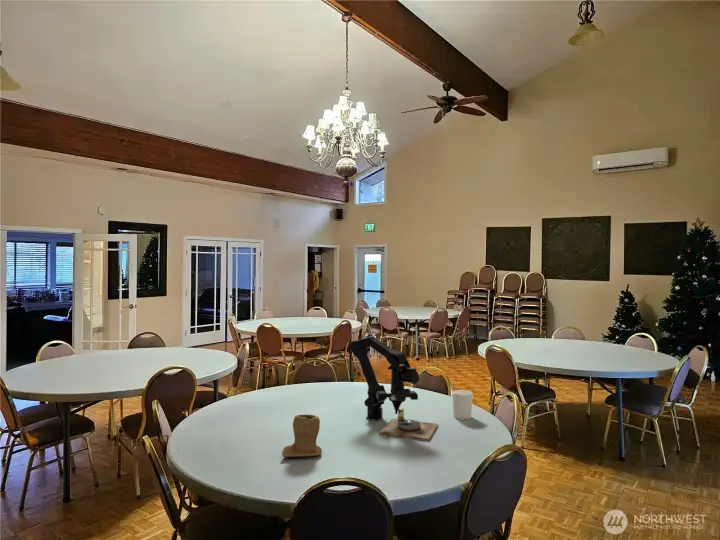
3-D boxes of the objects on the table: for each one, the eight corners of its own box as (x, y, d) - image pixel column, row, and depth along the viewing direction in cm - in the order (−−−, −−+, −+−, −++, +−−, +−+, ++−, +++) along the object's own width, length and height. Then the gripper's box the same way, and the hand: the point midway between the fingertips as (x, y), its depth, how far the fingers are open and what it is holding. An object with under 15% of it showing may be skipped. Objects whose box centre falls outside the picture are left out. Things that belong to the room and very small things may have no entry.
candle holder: (449, 418, 223) (449, 393, 223) (455, 412, 232) (455, 388, 232) (469, 421, 218) (469, 396, 218) (475, 415, 227) (475, 391, 227)
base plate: (379, 434, 201) (379, 431, 201) (391, 420, 220) (391, 417, 220) (429, 441, 193) (429, 438, 193) (437, 425, 212) (437, 423, 212)
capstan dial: (424, 429, 204) (424, 416, 204) (404, 432, 200) (404, 419, 200) (409, 419, 217) (409, 407, 217) (389, 422, 213) (390, 409, 213)
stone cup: (321, 447, 187) (321, 410, 187) (322, 459, 175) (322, 419, 175) (283, 449, 185) (283, 411, 185) (281, 461, 173) (281, 421, 173)
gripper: (381, 384, 204) (380, 419, 204) (421, 384, 207) (420, 419, 207) (376, 378, 215) (375, 412, 215) (415, 378, 218) (413, 411, 218)
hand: (396, 414), depth 213 cm, fingers closed
